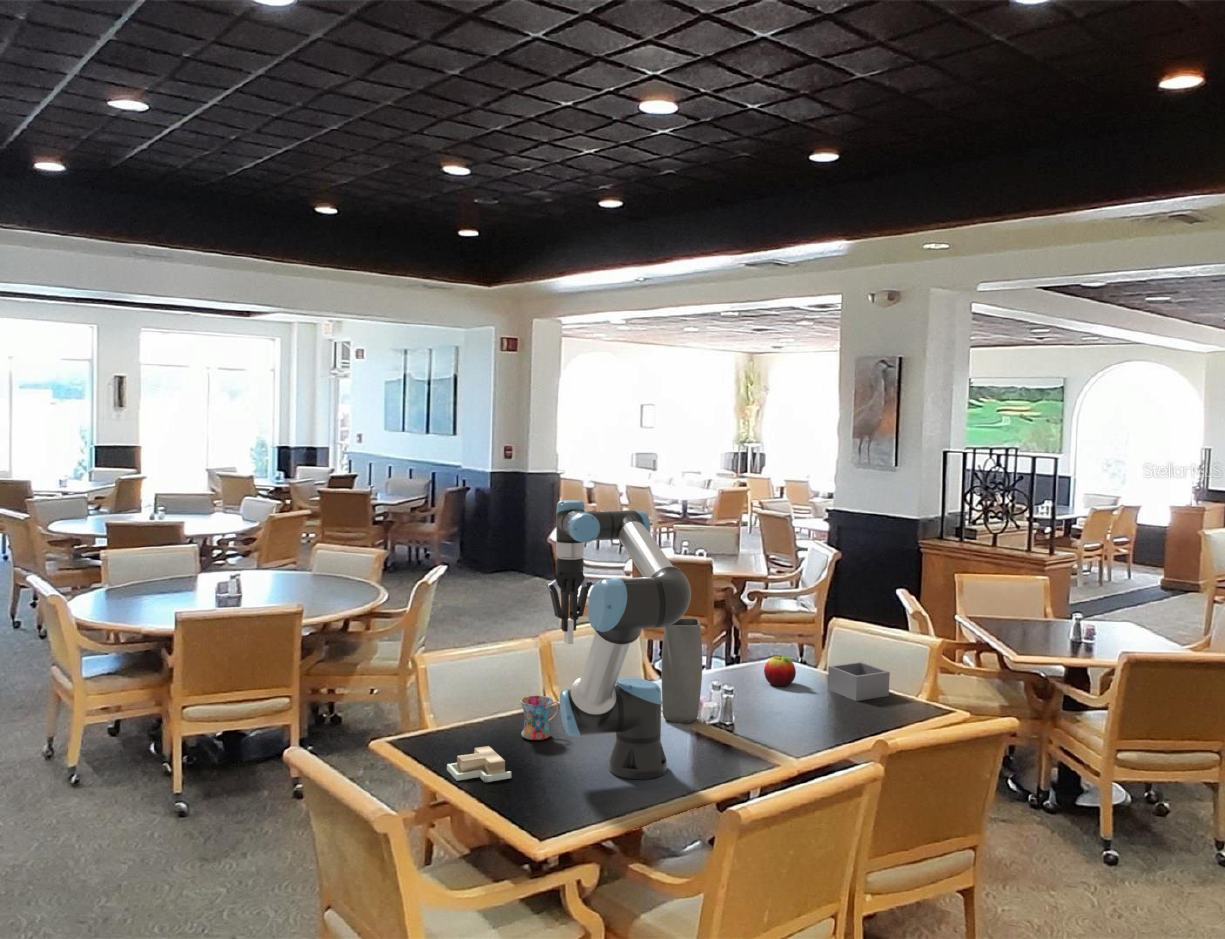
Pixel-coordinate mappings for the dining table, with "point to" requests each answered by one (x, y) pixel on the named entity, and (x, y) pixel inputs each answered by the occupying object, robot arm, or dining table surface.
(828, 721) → the dining table surface
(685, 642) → the vase
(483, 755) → the t block
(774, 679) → the fruit
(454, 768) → the jig
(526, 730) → the mug
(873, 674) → the box
